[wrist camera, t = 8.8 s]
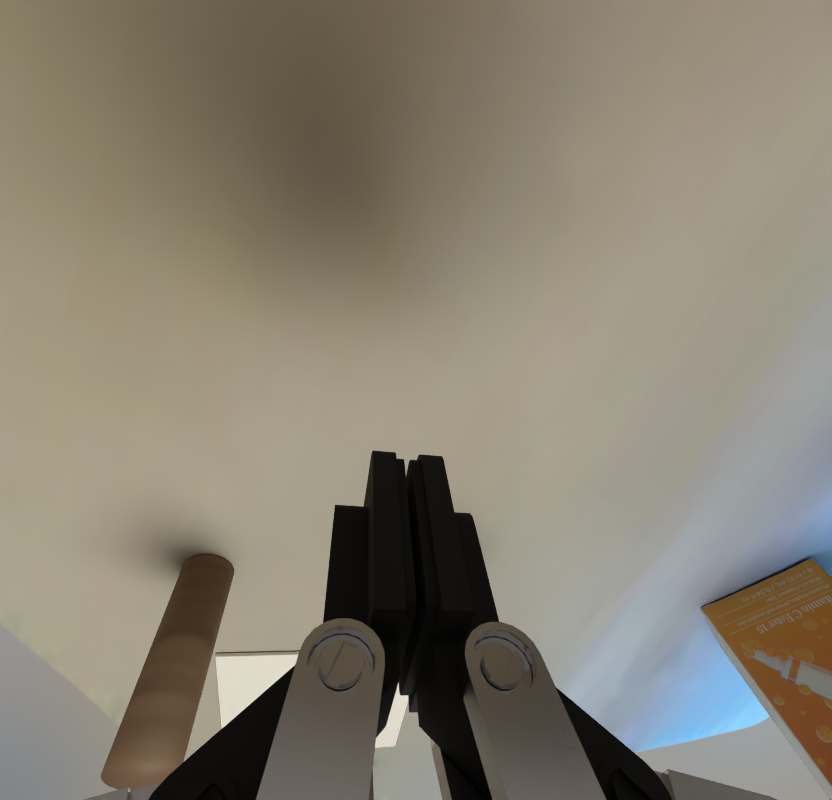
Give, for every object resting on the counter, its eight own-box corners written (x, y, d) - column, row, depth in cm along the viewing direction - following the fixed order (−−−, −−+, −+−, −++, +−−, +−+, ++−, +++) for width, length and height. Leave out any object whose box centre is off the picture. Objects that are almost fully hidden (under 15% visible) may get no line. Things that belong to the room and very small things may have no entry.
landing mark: (216, 653, 28) (215, 656, 27) (421, 648, 30) (422, 651, 30) (225, 754, 34) (224, 757, 34) (394, 743, 36) (394, 746, 36)
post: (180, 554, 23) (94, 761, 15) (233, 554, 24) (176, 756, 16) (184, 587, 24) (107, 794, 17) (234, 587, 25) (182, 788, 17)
